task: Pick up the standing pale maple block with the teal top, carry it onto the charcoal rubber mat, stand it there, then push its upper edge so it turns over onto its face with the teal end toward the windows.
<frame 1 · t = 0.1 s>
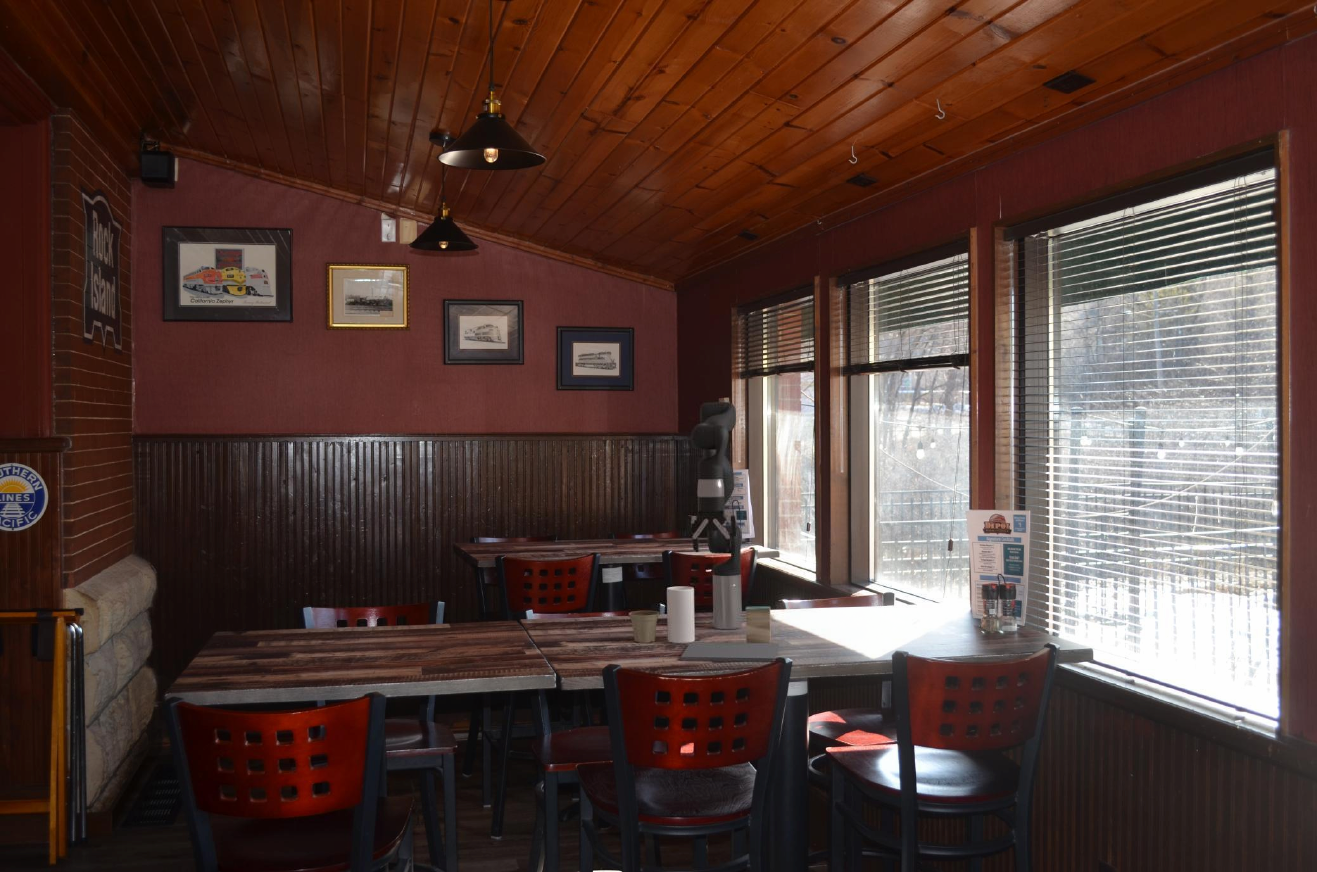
hand: (711, 551, 305), 29 cm above the table, tool pointing down, fingers open, 8 cm apart
cup: (681, 641, 328), on the table
block: (758, 644, 319), on the table
flower pot: (644, 642, 328), on the table
mat: (731, 653, 306), on the table
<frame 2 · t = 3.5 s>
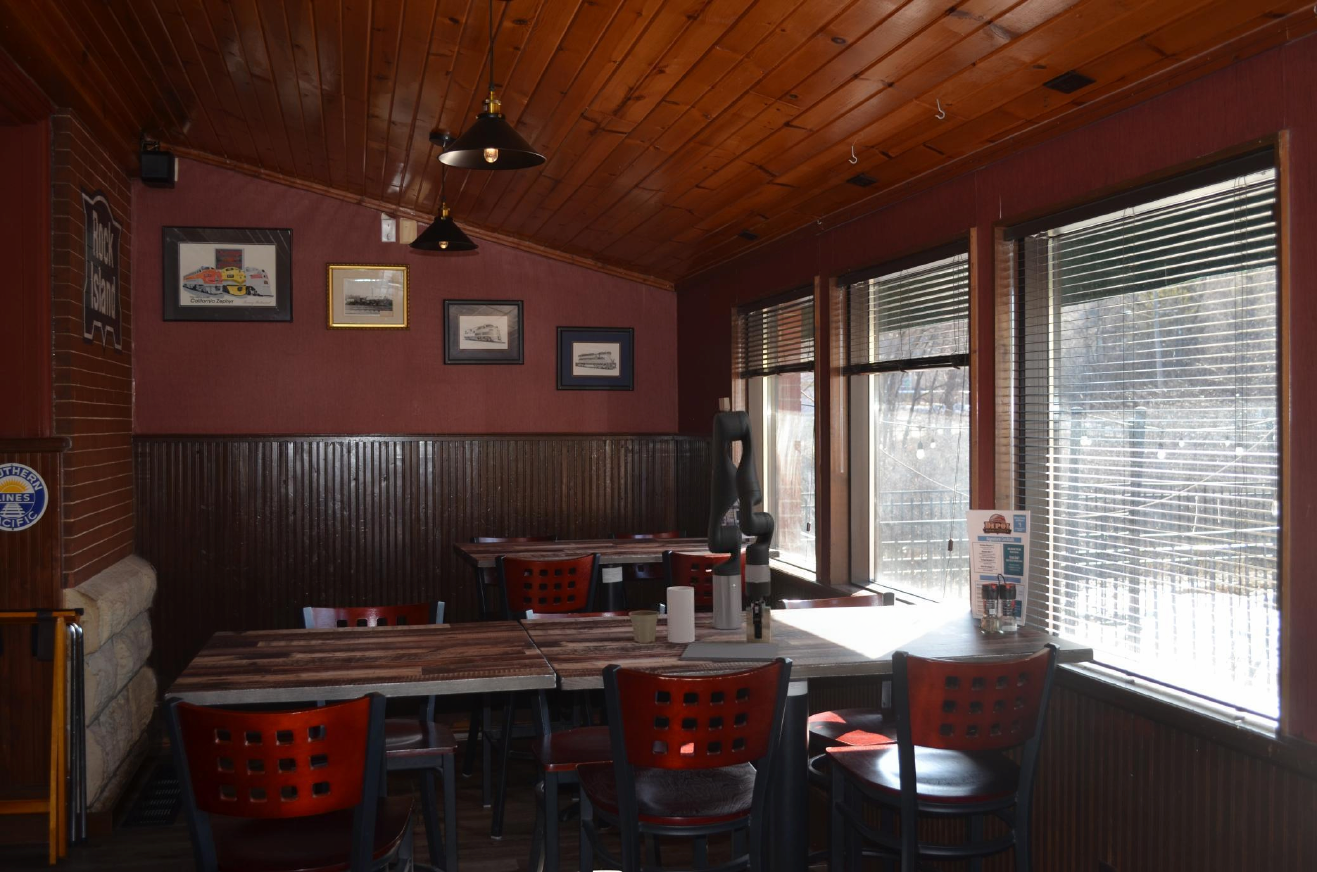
hand: (758, 636, 319), 2 cm above the table, tool pointing down, fingers closed on block, 4 cm apart
block: (758, 644, 319), on the table, touching gripper
everything else where it was.
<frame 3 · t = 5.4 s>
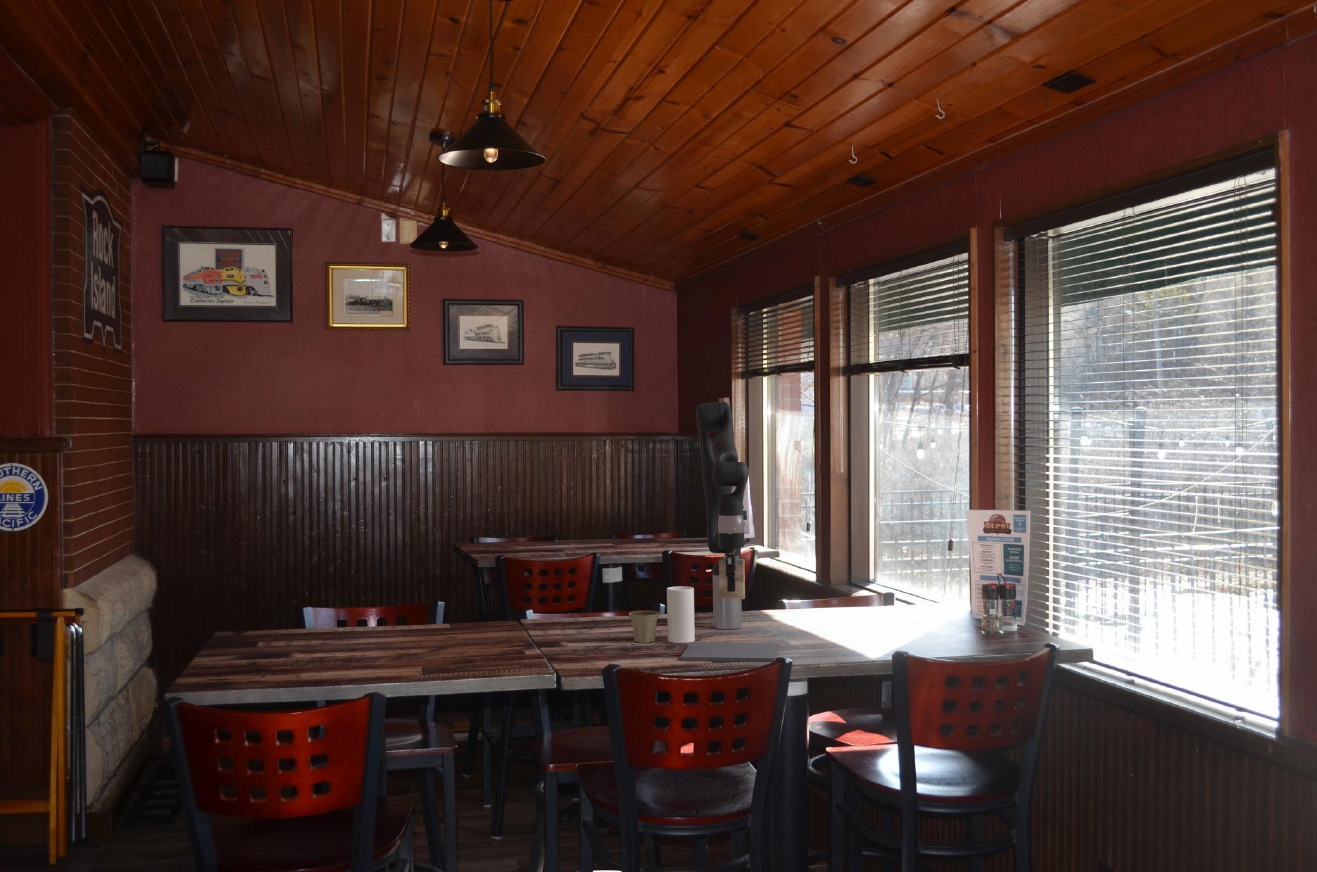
hand: (732, 590, 309), 18 cm above the table, tool pointing down, fingers closed on block, 4 cm apart
block: (732, 598, 309), point 15 cm above the table, touching gripper
everything else where it was.
when the fingers open (4 cm above the table, at t = 7.8 s): block stays where it is, resting on mat.
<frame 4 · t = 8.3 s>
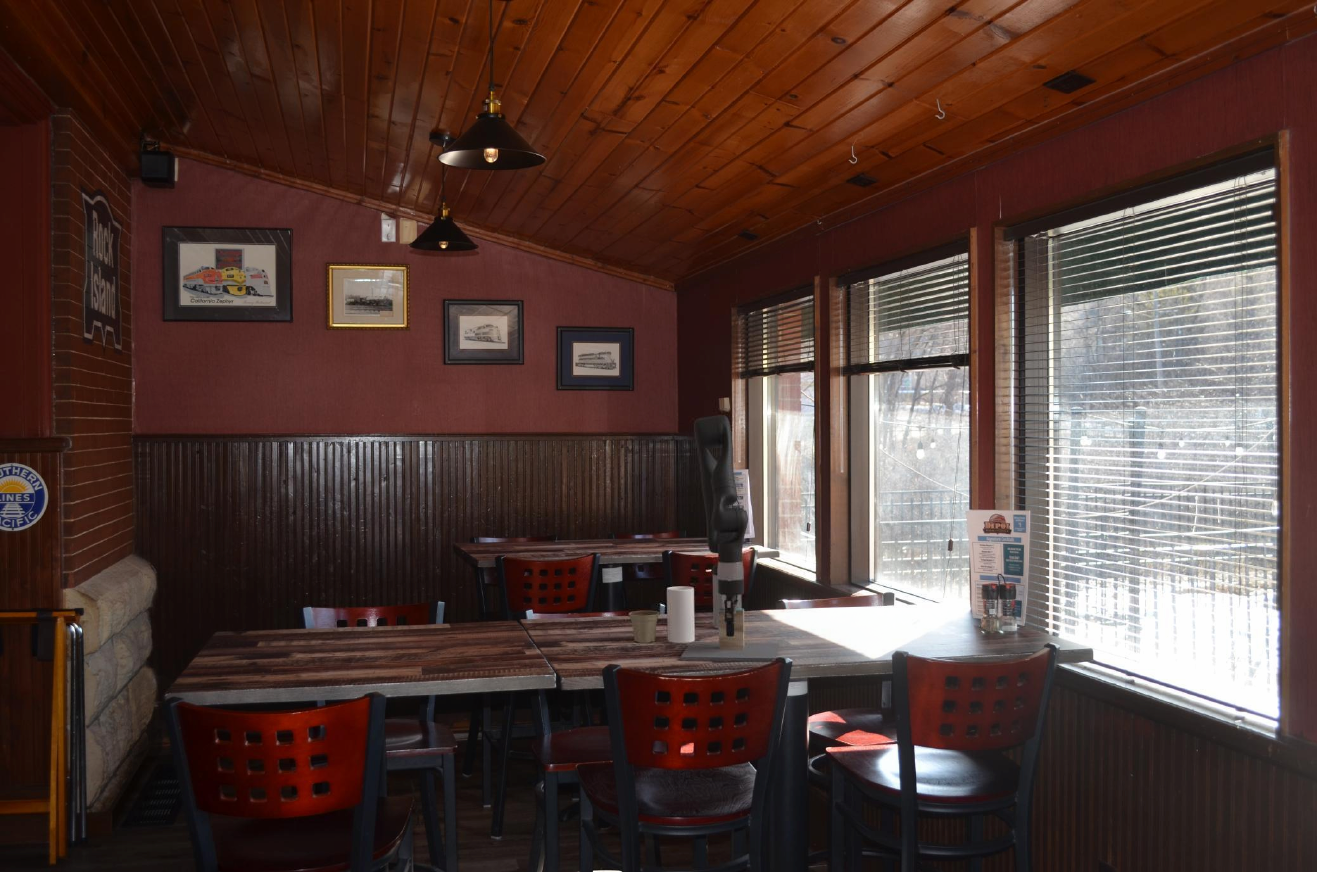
hand: (731, 633, 309), 5 cm above the table, tool pointing down, fingers open, 8 cm apart
block: (732, 647, 309), point 1 cm above the table, touching mat
everything else where it was.
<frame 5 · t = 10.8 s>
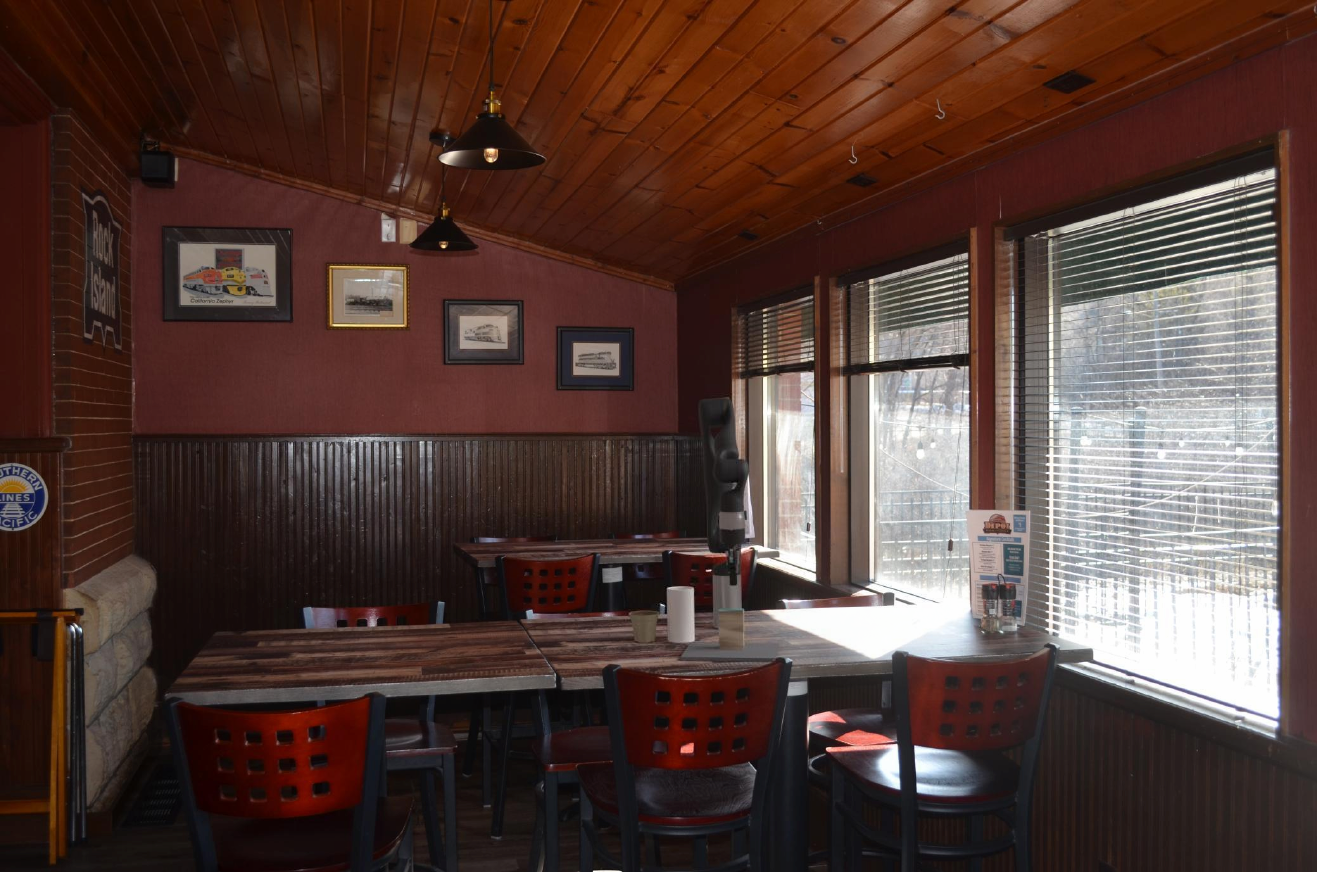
hand: (733, 585, 316), 18 cm above the table, tool pointing down, fingers closed
nothing on the table moved.
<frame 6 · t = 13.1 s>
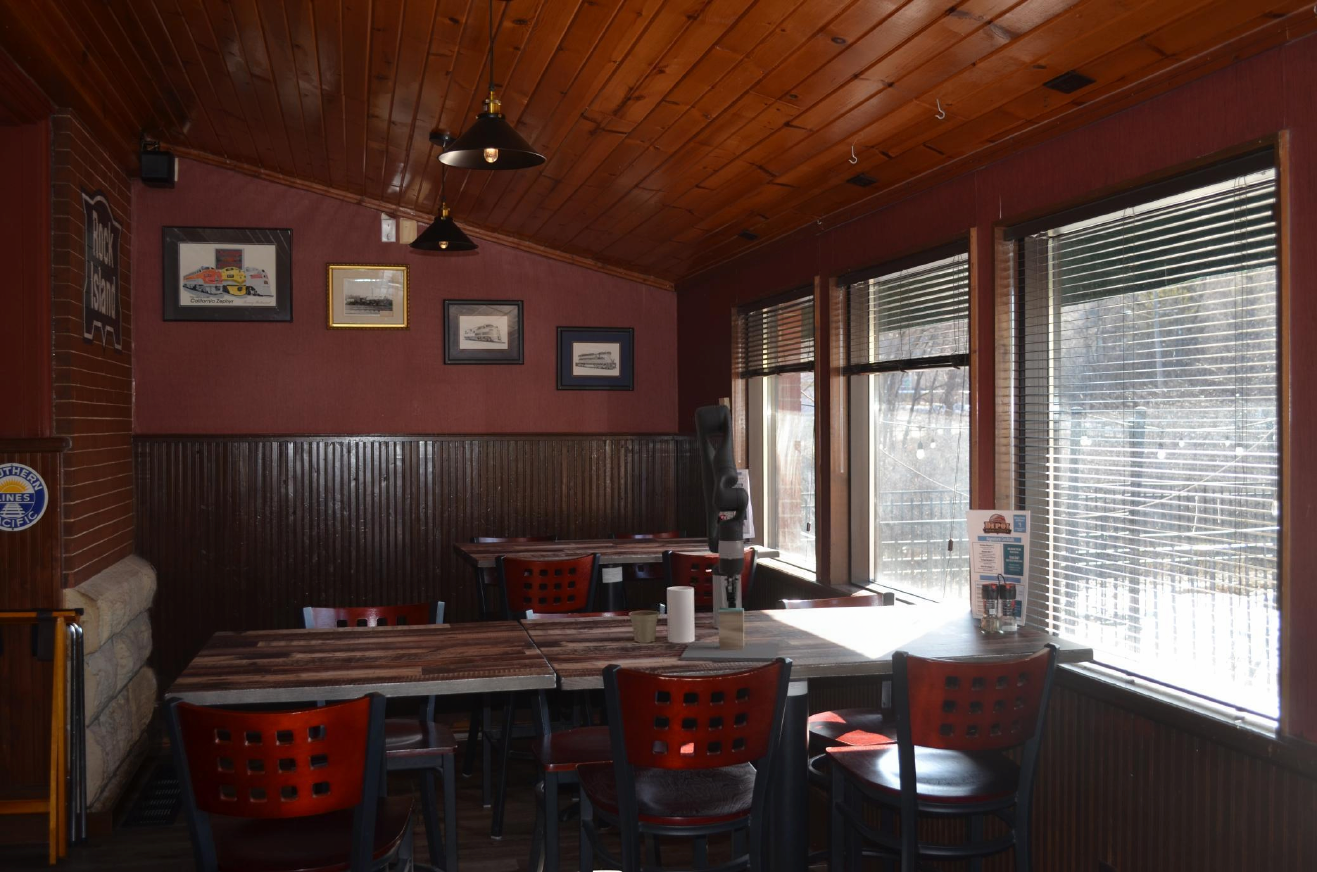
hand: (732, 615, 313), 10 cm above the table, tool pointing down, fingers closed
nothing on the table moved.
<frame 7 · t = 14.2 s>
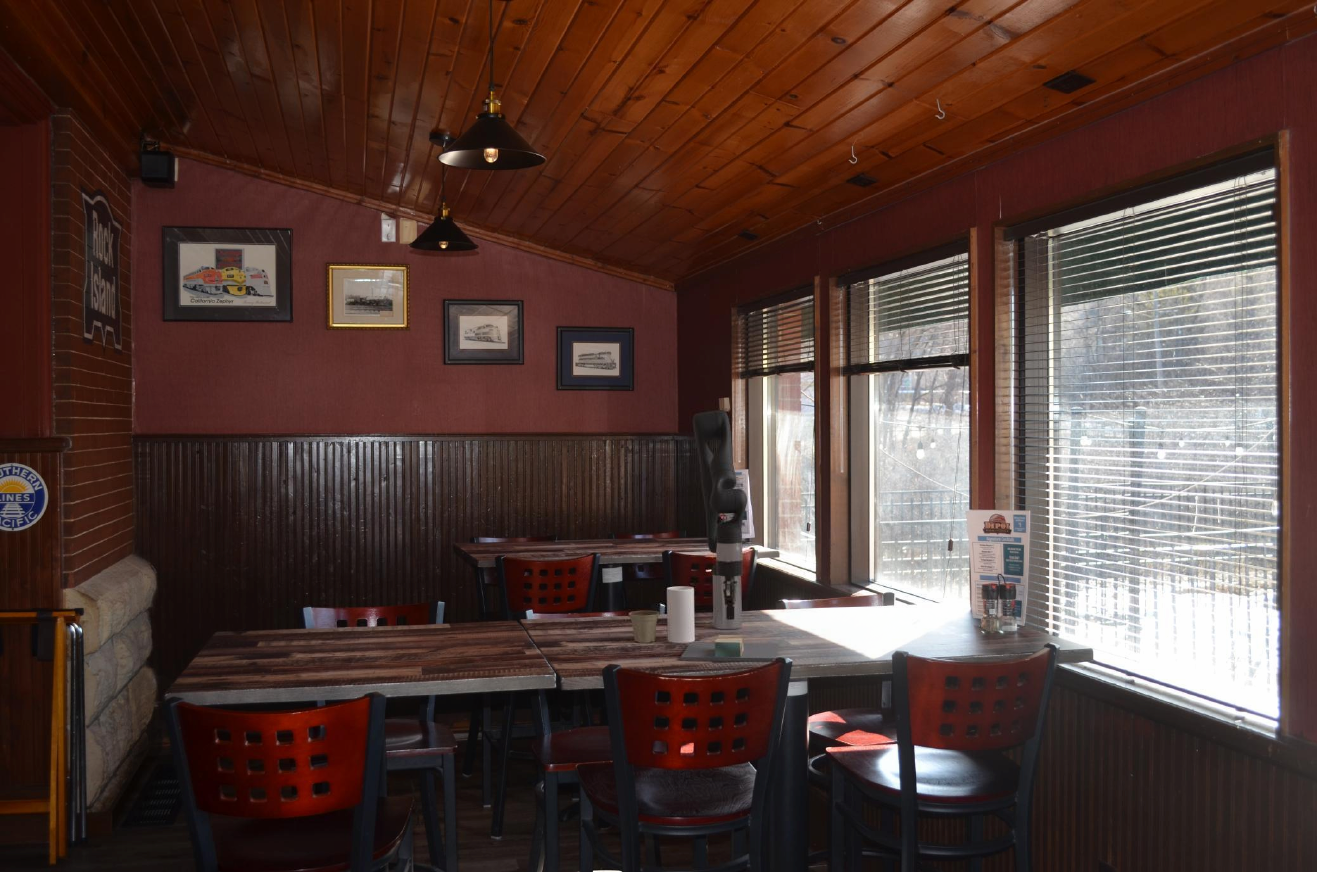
hand: (730, 619, 307), 10 cm above the table, tool pointing down, fingers closed
block: (731, 642, 307), point 3 cm above the table, tilted 90°, touching mat
everything else where it was.
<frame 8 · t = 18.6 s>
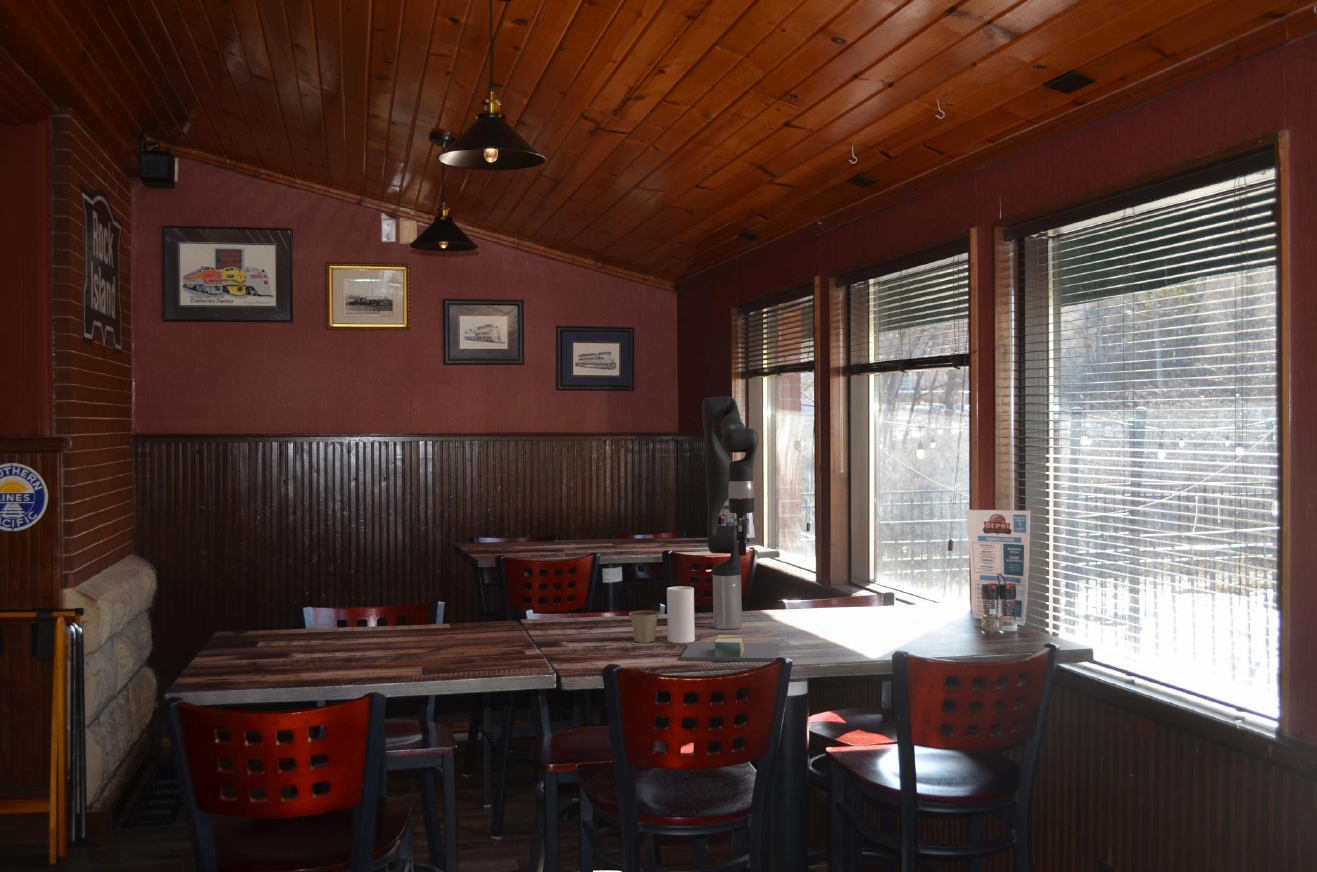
hand: (742, 555, 315), 27 cm above the table, tool pointing down, fingers closed
nothing on the table moved.
at the end: block tilted 90°; block inside the target area (2.0 cm from its centre), point 3.0 cm above the table; the gripper is holding nothing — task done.
